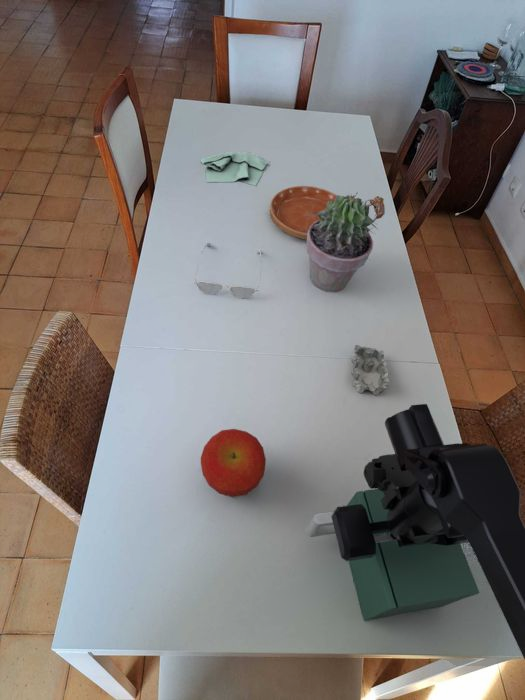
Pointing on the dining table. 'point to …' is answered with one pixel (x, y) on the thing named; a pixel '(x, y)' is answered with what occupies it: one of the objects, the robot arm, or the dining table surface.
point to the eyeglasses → (215, 288)
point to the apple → (233, 462)
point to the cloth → (234, 167)
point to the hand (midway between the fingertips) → (386, 541)
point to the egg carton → (369, 370)
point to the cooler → (421, 569)
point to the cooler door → (361, 568)
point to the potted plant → (340, 241)
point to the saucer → (299, 208)
